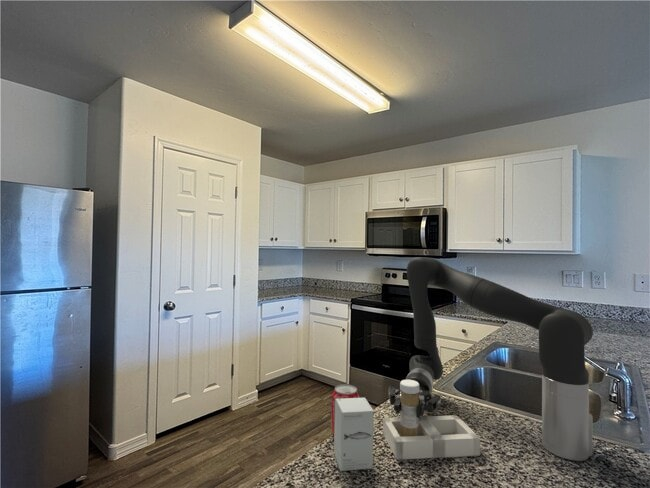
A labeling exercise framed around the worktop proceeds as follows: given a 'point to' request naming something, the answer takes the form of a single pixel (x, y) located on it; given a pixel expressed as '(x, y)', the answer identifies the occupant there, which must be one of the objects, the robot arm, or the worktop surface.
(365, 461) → the supplement box
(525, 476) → the worktop surface
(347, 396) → the soda can
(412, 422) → the sprinkles bottle
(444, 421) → the divided compartment tray
